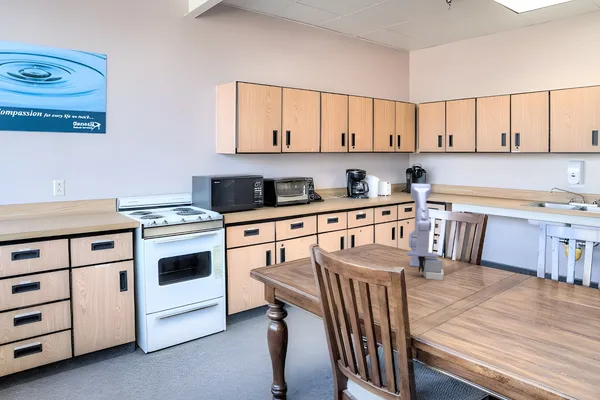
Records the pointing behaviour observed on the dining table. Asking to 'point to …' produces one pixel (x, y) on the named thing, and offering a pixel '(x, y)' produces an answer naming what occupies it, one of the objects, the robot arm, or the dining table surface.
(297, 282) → the dining table surface
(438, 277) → the dock
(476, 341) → the dining table surface
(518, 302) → the dining table surface
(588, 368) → the dining table surface
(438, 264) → the medicine box
